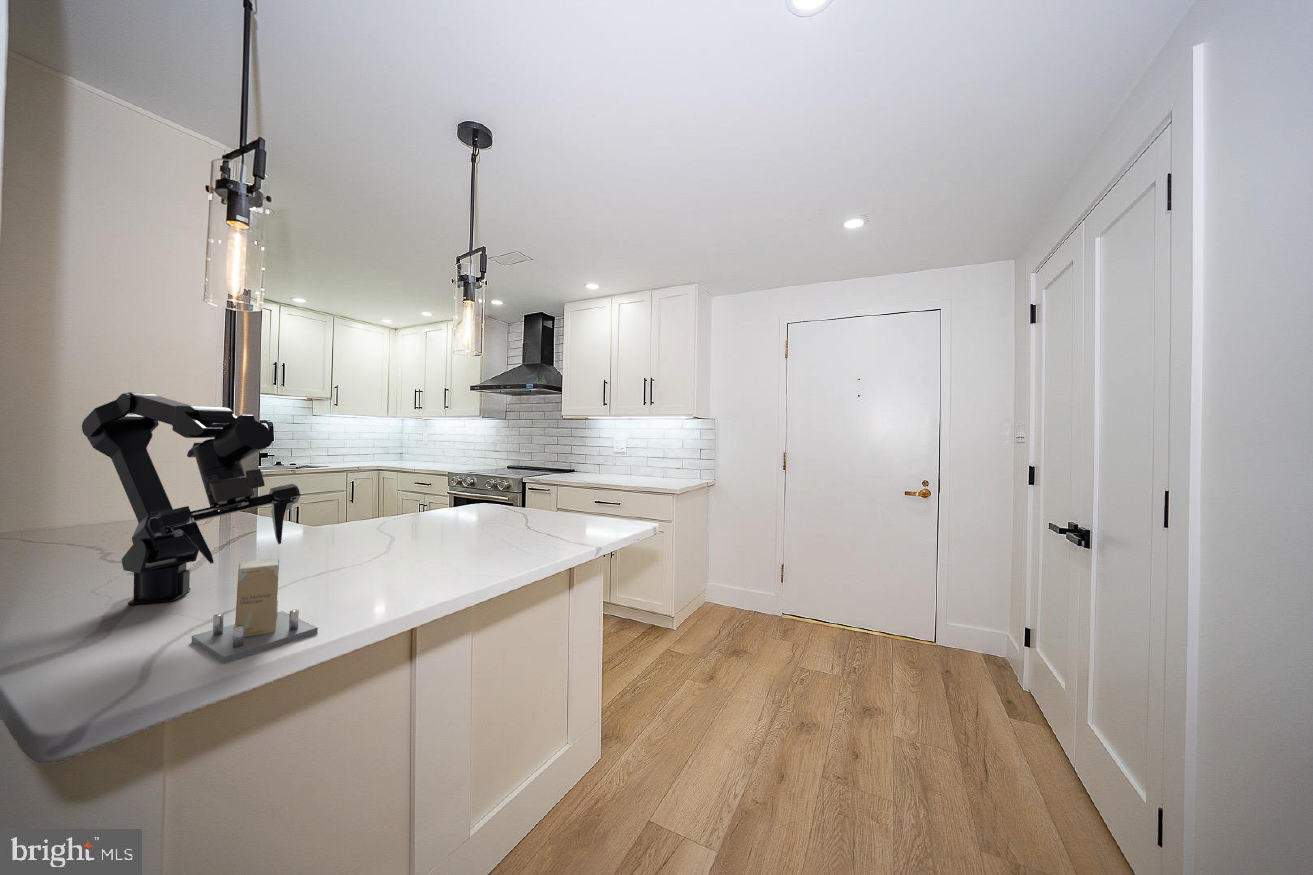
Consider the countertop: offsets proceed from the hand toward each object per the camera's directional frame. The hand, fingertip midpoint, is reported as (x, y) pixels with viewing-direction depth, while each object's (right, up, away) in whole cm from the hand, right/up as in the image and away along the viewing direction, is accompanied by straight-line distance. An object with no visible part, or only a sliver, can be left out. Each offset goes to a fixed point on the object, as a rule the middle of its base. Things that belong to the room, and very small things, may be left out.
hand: (247, 553), depth 83 cm
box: (+8, -11, -7) cm, 15 cm away
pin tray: (+8, -12, -7) cm, 16 cm away
